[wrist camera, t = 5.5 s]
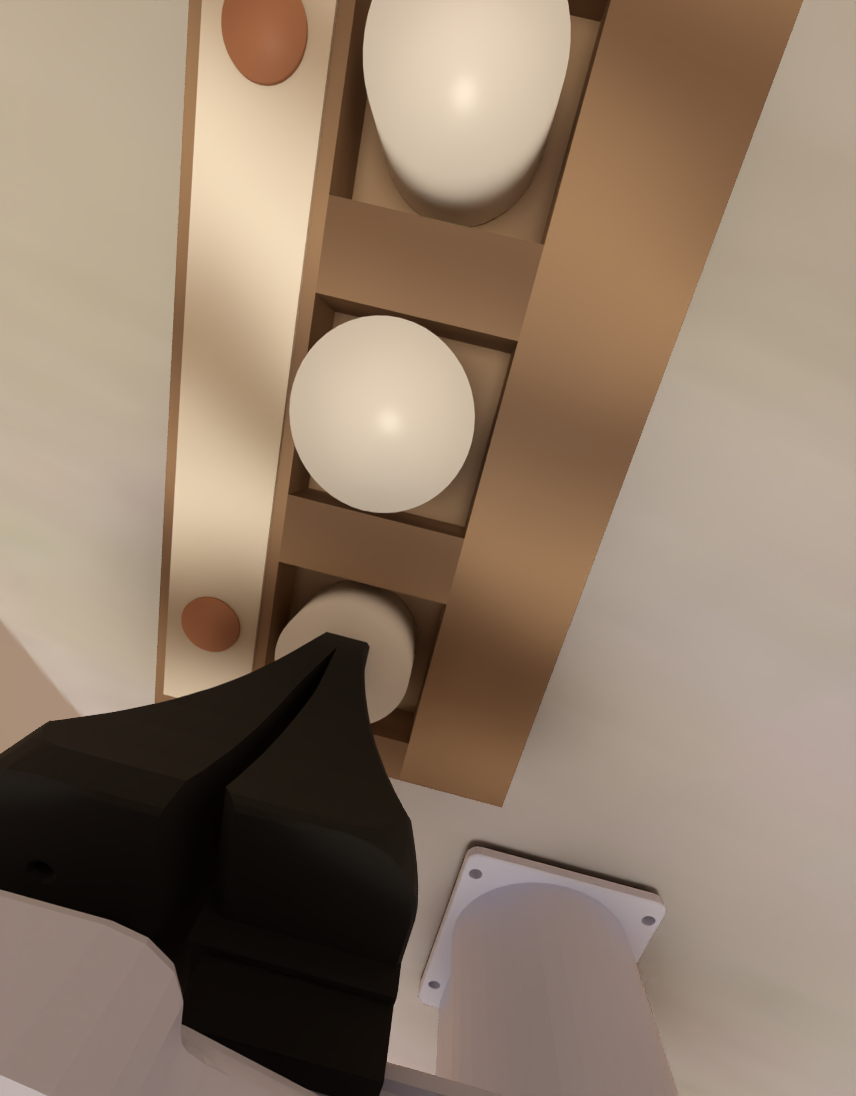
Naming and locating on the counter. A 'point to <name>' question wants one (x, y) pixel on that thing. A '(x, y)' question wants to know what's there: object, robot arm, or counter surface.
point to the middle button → (382, 414)
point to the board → (454, 317)
